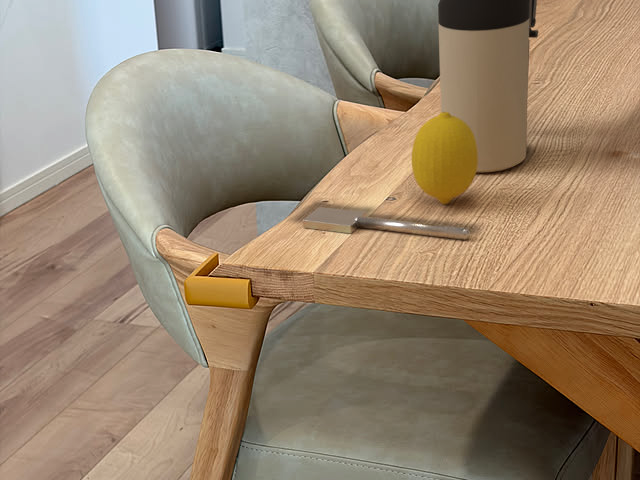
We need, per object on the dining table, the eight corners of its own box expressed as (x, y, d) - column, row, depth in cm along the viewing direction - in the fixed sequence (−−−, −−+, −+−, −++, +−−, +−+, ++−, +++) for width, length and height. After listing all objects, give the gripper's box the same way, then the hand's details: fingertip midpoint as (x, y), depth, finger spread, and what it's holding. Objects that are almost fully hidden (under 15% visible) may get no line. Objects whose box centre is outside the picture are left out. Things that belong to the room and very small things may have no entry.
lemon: (425, 190, 82) (424, 101, 78) (485, 195, 79) (487, 105, 76) (402, 211, 77) (400, 118, 74) (465, 218, 75) (466, 123, 71)
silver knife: (475, 232, 72) (475, 221, 72) (463, 247, 70) (463, 236, 69) (319, 214, 78) (319, 204, 78) (303, 227, 75) (302, 217, 75)
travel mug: (468, 181, 83) (466, -25, 74) (427, 155, 90) (421, -37, 80) (542, 162, 85) (549, -40, 76) (497, 138, 92) (498, -51, 83)
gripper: (497, -153, 89) (493, 89, 100) (457, -148, 78) (458, 121, 89) (575, -159, 86) (562, 91, 96) (544, -155, 75) (534, 125, 86)
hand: (512, 105), depth 93 cm, fingers closed
